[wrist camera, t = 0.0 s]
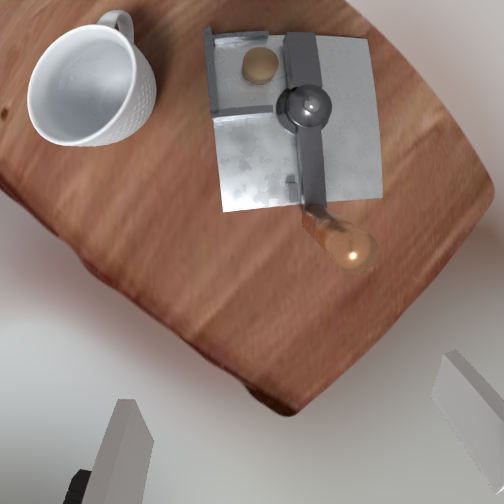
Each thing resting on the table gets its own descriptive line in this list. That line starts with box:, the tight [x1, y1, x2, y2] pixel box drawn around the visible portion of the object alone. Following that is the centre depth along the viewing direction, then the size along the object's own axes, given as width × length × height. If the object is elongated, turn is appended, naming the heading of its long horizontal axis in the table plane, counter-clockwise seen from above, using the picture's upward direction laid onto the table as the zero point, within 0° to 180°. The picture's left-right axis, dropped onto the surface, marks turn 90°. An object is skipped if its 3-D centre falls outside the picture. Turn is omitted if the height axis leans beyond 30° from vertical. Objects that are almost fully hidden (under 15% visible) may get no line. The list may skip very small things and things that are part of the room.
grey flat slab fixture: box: [203, 27, 383, 212], centre depth 31 cm, size 20×19×6 cm
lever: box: [283, 32, 378, 275], centre depth 26 cm, size 22×4×14 cm, turn 6°
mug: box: [27, 10, 157, 146], centre depth 25 cm, size 15×11×13 cm
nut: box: [242, 47, 279, 85], centre depth 29 cm, size 4×4×3 cm
